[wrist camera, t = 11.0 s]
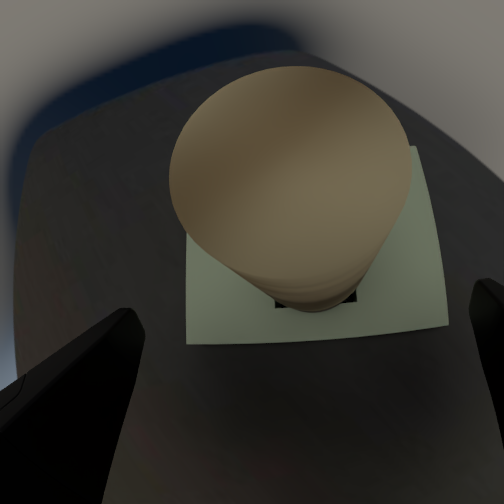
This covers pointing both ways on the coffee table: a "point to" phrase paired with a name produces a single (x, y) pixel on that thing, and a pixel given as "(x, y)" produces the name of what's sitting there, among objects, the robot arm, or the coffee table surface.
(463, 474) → the coffee table surface
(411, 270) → the sage board
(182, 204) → the beech leg
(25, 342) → the coffee table surface
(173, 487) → the coffee table surface
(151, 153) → the coffee table surface
